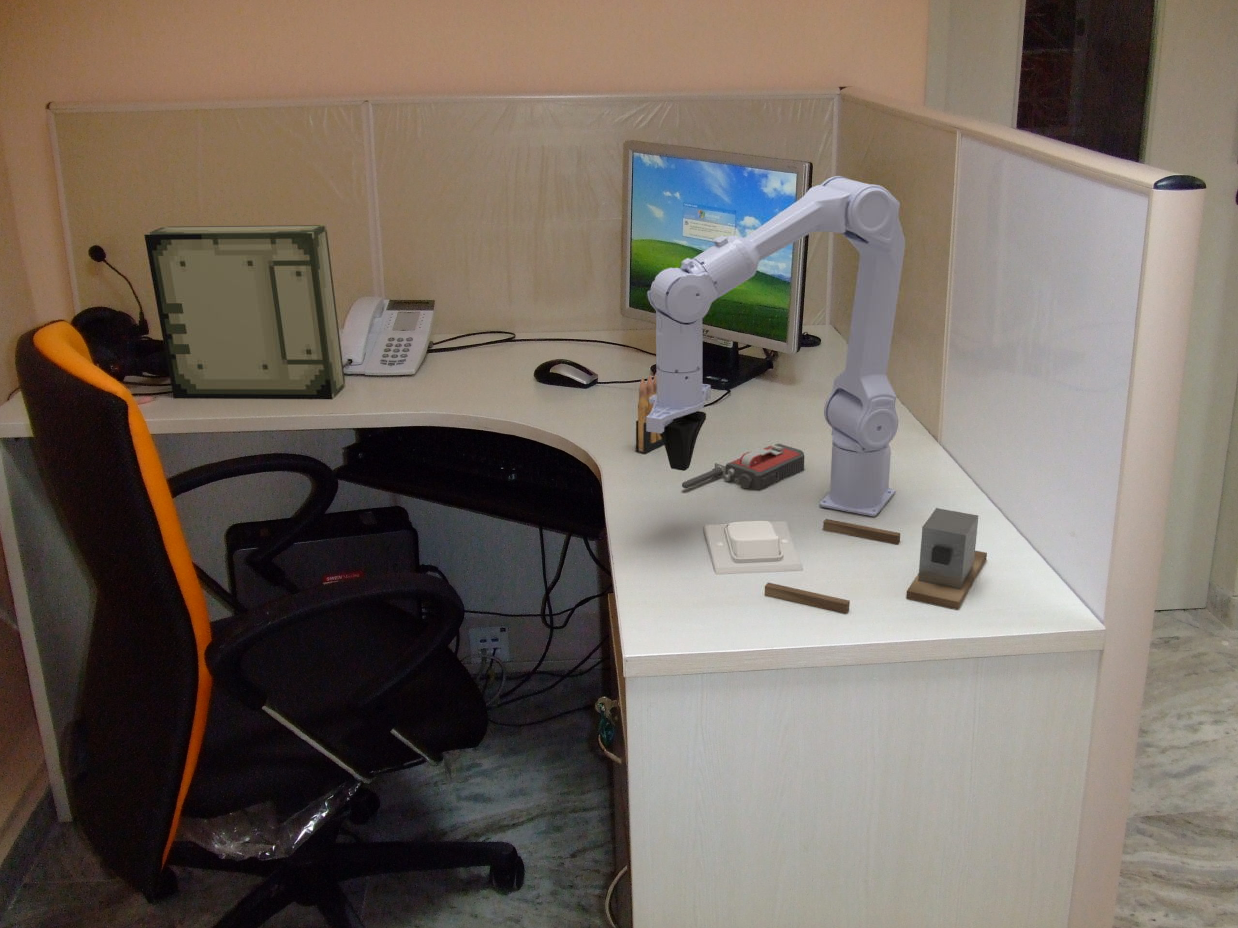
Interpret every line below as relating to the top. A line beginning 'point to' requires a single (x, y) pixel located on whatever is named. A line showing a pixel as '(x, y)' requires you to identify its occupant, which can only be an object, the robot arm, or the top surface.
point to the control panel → (247, 311)
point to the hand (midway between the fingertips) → (680, 467)
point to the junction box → (948, 548)
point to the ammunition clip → (643, 437)
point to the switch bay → (825, 600)
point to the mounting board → (945, 588)
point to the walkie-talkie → (756, 467)
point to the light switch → (751, 547)
